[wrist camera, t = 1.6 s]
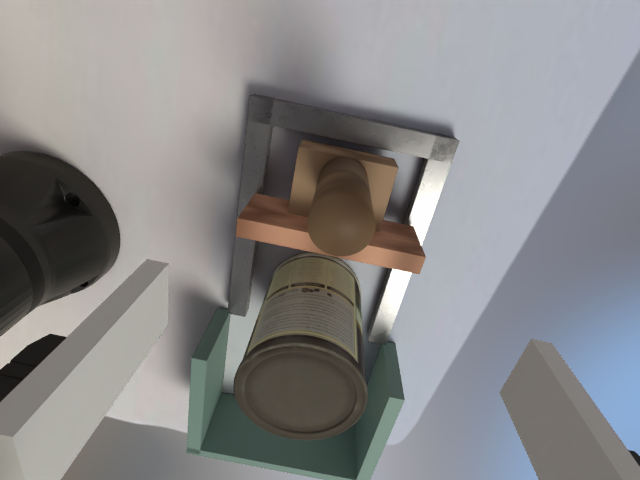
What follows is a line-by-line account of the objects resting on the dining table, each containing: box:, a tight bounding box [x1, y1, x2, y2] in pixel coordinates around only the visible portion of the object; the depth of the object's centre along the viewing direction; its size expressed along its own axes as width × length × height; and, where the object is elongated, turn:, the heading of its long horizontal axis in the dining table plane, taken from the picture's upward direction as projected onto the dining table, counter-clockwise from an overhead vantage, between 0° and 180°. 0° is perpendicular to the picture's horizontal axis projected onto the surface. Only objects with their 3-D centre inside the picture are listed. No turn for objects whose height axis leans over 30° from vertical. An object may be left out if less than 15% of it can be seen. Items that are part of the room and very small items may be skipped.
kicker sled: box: [236, 139, 426, 274], centre depth 28 cm, size 15×7×12 cm, turn 79°
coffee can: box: [234, 253, 368, 440], centre depth 34 cm, size 10×10×14 cm
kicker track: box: [228, 94, 459, 345], centre depth 37 cm, size 18×23×2 cm
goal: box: [187, 308, 405, 480], centre depth 42 cm, size 21×15×8 cm
